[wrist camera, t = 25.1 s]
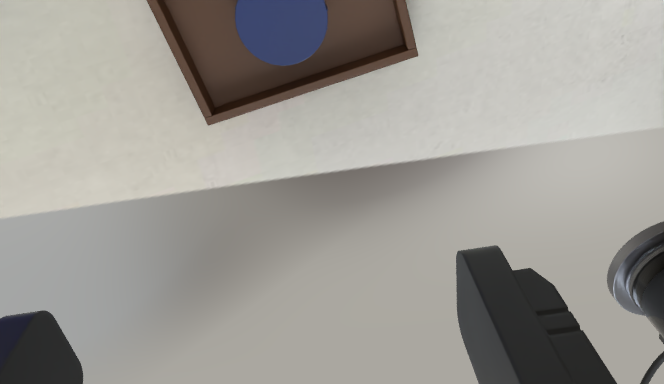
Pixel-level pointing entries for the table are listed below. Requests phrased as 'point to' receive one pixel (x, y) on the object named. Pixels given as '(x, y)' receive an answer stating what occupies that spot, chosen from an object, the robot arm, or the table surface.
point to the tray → (268, 79)
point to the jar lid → (281, 28)
